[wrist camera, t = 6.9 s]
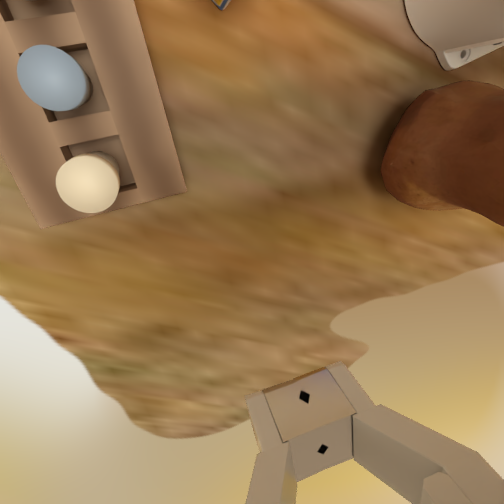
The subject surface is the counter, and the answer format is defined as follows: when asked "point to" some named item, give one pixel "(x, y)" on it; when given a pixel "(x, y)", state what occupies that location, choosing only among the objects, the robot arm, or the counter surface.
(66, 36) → the wooden board with holes
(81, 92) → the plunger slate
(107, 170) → the plunger cream
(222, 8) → the ink cartridge box
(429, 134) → the brown rounded block
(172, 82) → the counter surface
